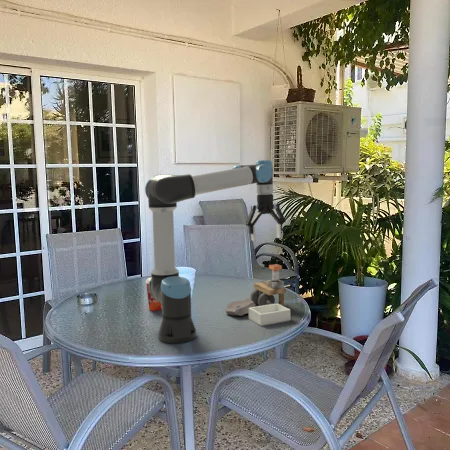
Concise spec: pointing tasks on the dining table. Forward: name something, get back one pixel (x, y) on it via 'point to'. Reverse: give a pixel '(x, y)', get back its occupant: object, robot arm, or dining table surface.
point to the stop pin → (275, 272)
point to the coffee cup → (152, 299)
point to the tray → (269, 314)
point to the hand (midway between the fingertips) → (266, 239)
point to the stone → (239, 307)
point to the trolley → (268, 292)
